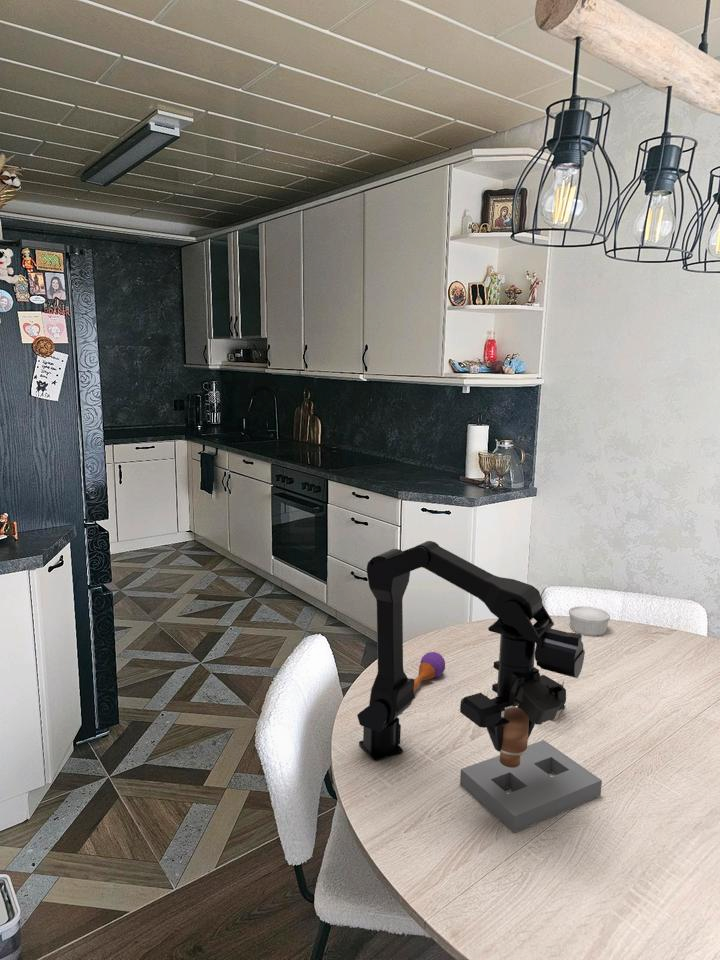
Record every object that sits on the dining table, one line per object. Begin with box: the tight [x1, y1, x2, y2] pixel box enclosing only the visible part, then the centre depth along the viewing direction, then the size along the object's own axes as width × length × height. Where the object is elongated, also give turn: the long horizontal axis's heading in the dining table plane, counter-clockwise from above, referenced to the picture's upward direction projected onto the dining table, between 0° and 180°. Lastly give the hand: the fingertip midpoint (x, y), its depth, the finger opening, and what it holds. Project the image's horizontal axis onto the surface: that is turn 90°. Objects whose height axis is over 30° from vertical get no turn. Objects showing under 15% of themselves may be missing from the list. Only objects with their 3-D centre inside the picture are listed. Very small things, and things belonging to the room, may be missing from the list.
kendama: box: [413, 651, 446, 693], centre depth 152 cm, size 6×6×20 cm
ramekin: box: [568, 605, 611, 637], centre depth 188 cm, size 11×11×5 cm
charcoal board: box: [459, 739, 603, 834], centre depth 116 cm, size 20×14×3 cm
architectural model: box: [551, 679, 565, 722], centre depth 142 cm, size 3×7×7 cm, turn 150°
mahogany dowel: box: [499, 706, 529, 768], centre depth 112 cm, size 6×6×9 cm
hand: (510, 745), depth 112 cm, fingers closed on mahogany dowel, 5 cm apart
